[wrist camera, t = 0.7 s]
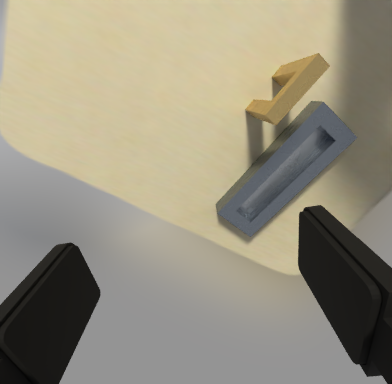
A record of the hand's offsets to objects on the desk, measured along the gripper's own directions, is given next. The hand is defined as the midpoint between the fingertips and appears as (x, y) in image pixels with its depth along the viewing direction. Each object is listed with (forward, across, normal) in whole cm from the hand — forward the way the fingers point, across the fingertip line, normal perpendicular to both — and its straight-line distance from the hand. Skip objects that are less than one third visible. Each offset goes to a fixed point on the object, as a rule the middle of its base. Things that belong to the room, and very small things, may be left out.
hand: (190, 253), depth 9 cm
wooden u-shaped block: (+24, -10, -4) cm, 27 cm away
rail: (+24, -11, +7) cm, 28 cm away
